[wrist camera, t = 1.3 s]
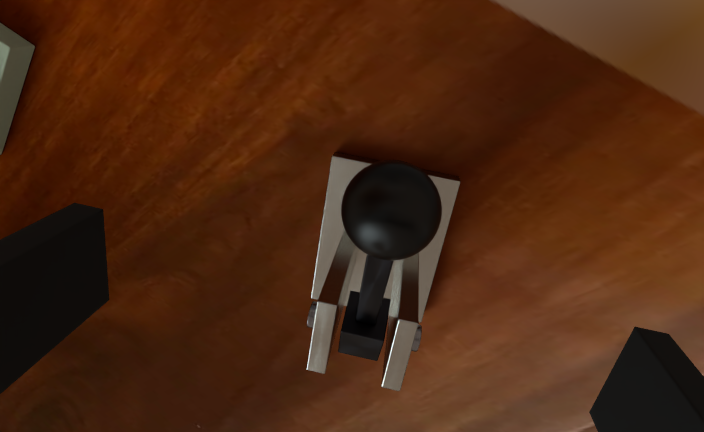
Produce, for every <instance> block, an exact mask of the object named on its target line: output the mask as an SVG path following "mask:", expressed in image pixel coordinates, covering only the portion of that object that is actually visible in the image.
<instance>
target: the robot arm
mask: <svg viewBox="0 0 704 432" xmlns="http://www.w3.org/2000/svg"><path fill="white" fill-rule="evenodd" d="M108 300H109V290H108V275H107V260H106V246H105V231H104V216H103V209H100V208H95V207H91V206H86V205H82V204H77V203H73V204H71V205H69V206H67V207H65V208H63V209H61V210H59V211H57V212H55V213H53V214H51V215H49V216H47V217H45V218H43V219H41V220H39V221H37V222H35V223H33V224H31V225H29V226H27V227H25V228H23V229H21V230H19V231H17V232H15V233H13V234H11V235H9V236H7V237H5V238H3V239H1V240H0V394H1V393H2V392H3V391H4V390H5V389H6V388H8V387H9V386H10V385H11V384H12V383H13V382H15V381H16V380H17V379H18V378H19V377H20V376H22V375H23V374H24V373H25V372H26V371H27V370H28V369H30V368H31V367H32V366H33V365H34V364H35V363H37V362H38V361H39V360H40V359H41V358H42V357H43V356H45V355H46V354H47V353H48V352H49V351H50V350H52V349H53V348H54V347H55V346H56V345H57V344H59V343H60V342H61V341H62V340H63V339H64V338H65V337H67V336H68V335H69V334H70V333H71V332H72V331H74V330H75V329H76V328H77V327H78V326H79V325H81V324H82V323H83V322H84V321H85V320H86V319H87V318H89V317H90V316H91V315H92V314H93V313H94V312H96V311H97V310H98V309H99V308H100V307H101V306H103V305H104V304H105V303H106V302H107V301H108ZM590 415H591V417H592V419H593V421H594V424H595V426H596V428H597V430H598V432H704V376H703V375H702V374H701V373H700V372H699V370H698V369H697V368H696V367H695V366H694V364H693V363H692V362H691V361H690V359H689V358H688V357H687V356H686V355H685V353H684V352H683V351H682V350H681V348H680V347H679V346H678V345H677V344H676V342H675V341H674V340H673V339H672V338H671V336H670V335H669V334H666V333H662V332H657V331H652V330H648V329H643V328H639V327H635V328H634V329H633V331H632V333H631V335H630V337H629V339H628V341H627V343H626V344H625V346H624V348H623V350H622V352H621V354H620V356H619V358H618V359H617V361H616V363H615V365H614V367H613V369H612V371H611V373H610V374H609V376H608V378H607V380H606V382H605V384H604V386H603V388H602V389H601V391H600V393H599V395H598V397H597V399H596V401H595V403H594V404H593V406H592V408H591V410H590Z"/></svg>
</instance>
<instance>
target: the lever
mask: <svg viewBox="0 0 704 432" xmlns="http://www.w3.org/2000/svg"><path fill="white" fill-rule="evenodd" d="M341 216H342V222H343V226H344V228H345V231H346V233H347V235H348V237H349V238H350V240H351V241H352V242H353V243H354V244H355V246H356V247H358V248H359V249H360V250H361V251H363V252H364V253H366V254H367V257H366V262H365V267H364V273H363V278H362V283H361V289H360V292H356V291H350V294H349V299H348V303H347V307H346V311H345V316H344V320H343V324H342V329H341V334H340V342H339V349H338V352H340V353H345V354H349V355H353V356H358V357H362V358H366V359H371V360H375V361H377V360H378V357H379V354H380V351H381V348H382V346H383V343H384V338H385V332H386V326H387V320H388V314H389V308H390V302H391V299H388V298H383V297H384V294H385V290H386V287H387V283H388V280H389V276H390V272H391V269H392V265H393V262H394V260H402V259H406V258H409V257H411V256H413V255H415V254H417V253H419V252H420V251H422V250H423V249H424V248H425V247H426V246H428V244H429V243H430V242H431V241H432V240H433V238H434V237H435V235H436V233H437V231H438V229H439V226H440V222H441V217H442V204H441V198H440V195H439V192H438V189H437V187H436V186H435V184H434V182H433V181H432V180H431V178H430V177H429V176H428V175H427V174H426V173H425V172H424V171H422V170H421V169H420V168H418V167H416V166H414V165H412V164H410V163H407V162H404V161H399V160H385V161H379V162H376V163H373V164H371V165H369V166H367V167H365V168H364V169H362V170H361V171H360V172H358V173H357V174H356V175H355V176H354V177H353V179H352V180H351V181H350V183H349V184H348V186H347V188H346V190H345V192H344V195H343V199H342V204H341Z"/></svg>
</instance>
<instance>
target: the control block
mask: <svg viewBox="0 0 704 432" xmlns="http://www.w3.org/2000/svg"><path fill="white" fill-rule="evenodd" d="M34 48H35V46H34V45H32V44H31V43H30V42H28V41H27V40H25V39H24V38H22V37H21V36H19V35H18V34H16V33H15V32H13V31H12V30H10V29H9V28H7V27H6V26H4V25H3V24H1V23H0V155H1V154H2V151H3V148H4V145H5V142H6V138H7V135H8V132H9V129H10V126H11V122H12V119H13V116H14V113H15V110H16V106H17V103H18V100H19V97H20V93H21V90H22V87H23V84H24V81H25V77H26V74H27V71H28V68H29V64H30V61H31V58H32V55H33V52H34Z"/></svg>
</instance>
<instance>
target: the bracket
mask: <svg viewBox="0 0 704 432" xmlns="http://www.w3.org/2000/svg"><path fill="white" fill-rule="evenodd" d="M376 162H379V160H374V159H369V158H364V157H359V156H354V155H349V154H344V153H339V152H335V153H334V154H333V156H332V159H331V166H330V172H329V179H328V186H327V193H326V199H325V206H324V213H323V219H322V226H321V233H320V239H319V246H318V253H317V260H316V266H315V273H314V280H313V286H312V293H311V298H312V299H317V300H318V301H317V302H315V301H313V302H312V304H311V307H310V310H309V314H308V319H307V327H309V328H313V331H312V338H311V344H310V350H309V357H308V363H307V370H310V371H314V372H319V373H323V374H325V372H326V368H327V364H328V361H329V357H330V354H331V350H332V346H333V343H334V339H335V336H336V332H337V328H338V325H339V321H340V317H341V314H342V310H343V307H344V306H347V303H348V299H349V294H350V291H356V292H360V289H361V283H362V278H363V273H364V267H365V262H366V257H367V254H366V253H364V252H363V251H361V250H360V249H359V248H358V247H356V246H355V244H354V243H353V242H352V241H351V240H350V238H349V237H348V235H347V233H346V231H345V228H344V226H343V222H342V216H341V204H342V199H343V195H344V192H345V190H346V188H347V186H348V184H349V183H350V181H351V180H352V179H353V177H354V176H355V175H356V174H357V173H358V172H360V171H361V170H362V169H364V168H365V167H367V166H369V165H371V164H373V163H376ZM421 170H422V171H424V172H425V173H426V174H427V175H428V176H429V177H430V178H431V180H432V181H433V182H434V184H435V186H436V187H437V189H438V192H439V195H440V198H441V204H442V217H441V222H440V226H439V229H438V231H437V233H436V235H435V237H434V238H433V240H432V241H431V242H430V243H429V244H428V246H426V247H425V248H424V249H423V250H422V251H420V252H419V253H417V254H415V255H413V256H411V257H409V258H406V259H402V260H394V262H393V265H392V269H391V272H390V276H389V280H388V283H387V287H386V290H385V294H384V297H383V298H388V299H391V302H390V308H389V314H388V315H389V320H388V329H387V339H386V348H385V357H384V366H383V375H382V384H381V386H382V387H384V388H388V389H392V390H396V391H400V389H401V386H402V382H403V378H404V375H405V371H406V368H407V364H408V360H409V357H410V353H411V351H415V352H416V351H417V350H418V348H419V344H420V340H421V333H422V327H421V325H418V324H419V322H420V323H421V321H422V318H423V314H424V311H425V307H426V303H427V300H428V296H429V293H430V289H431V286H432V282H433V278H434V275H435V271H436V268H437V264H438V261H439V257H440V254H441V250H442V246H443V243H444V239H445V236H446V232H447V229H448V225H449V221H450V218H451V214H452V211H453V207H454V204H455V200H456V196H457V193H458V189H459V186H460V178H459V176H454V175H449V174H444V173H439V172H434V171H429V170H424V169H421Z"/></svg>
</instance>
